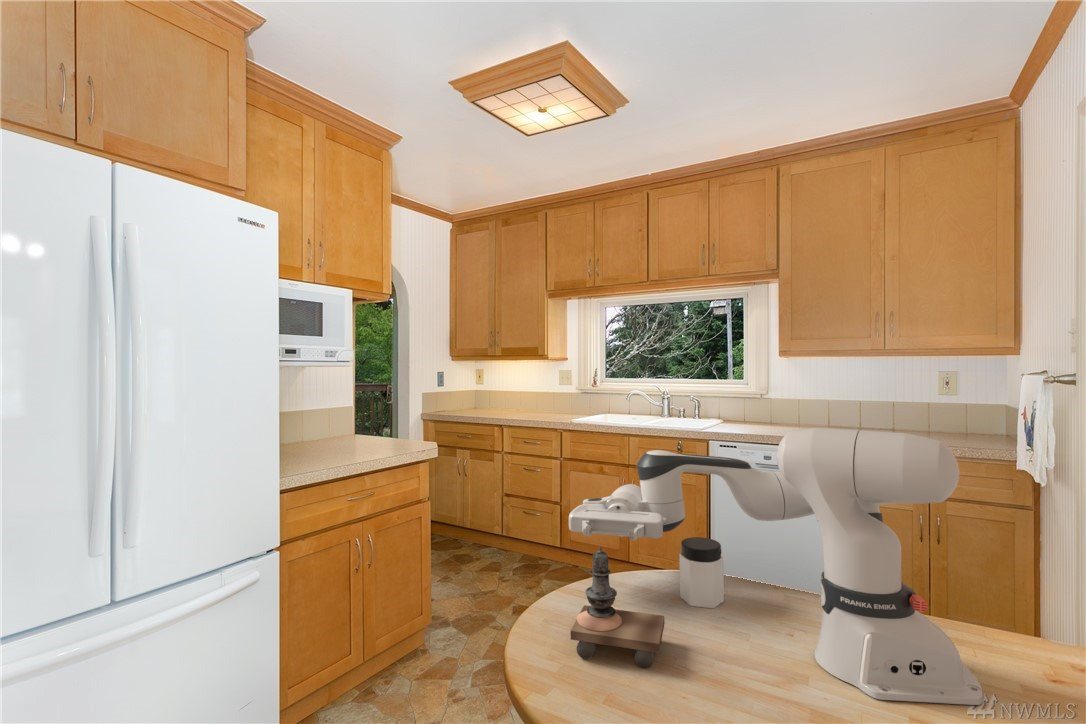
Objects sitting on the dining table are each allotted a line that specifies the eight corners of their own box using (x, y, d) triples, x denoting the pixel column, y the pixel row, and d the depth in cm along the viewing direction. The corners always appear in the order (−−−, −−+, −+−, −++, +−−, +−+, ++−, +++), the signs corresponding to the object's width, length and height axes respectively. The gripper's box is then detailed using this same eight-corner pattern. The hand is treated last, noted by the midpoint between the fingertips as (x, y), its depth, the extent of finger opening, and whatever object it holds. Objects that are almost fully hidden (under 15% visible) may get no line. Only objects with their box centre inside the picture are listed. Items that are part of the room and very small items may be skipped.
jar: (731, 606, 110) (730, 548, 110) (695, 611, 108) (694, 552, 108) (708, 588, 119) (707, 534, 119) (674, 592, 117) (673, 538, 117)
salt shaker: (619, 618, 96) (618, 552, 96) (586, 619, 96) (585, 552, 96) (614, 603, 102) (613, 540, 102) (583, 604, 102) (582, 541, 102)
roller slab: (664, 640, 97) (664, 614, 97) (659, 671, 88) (658, 642, 88) (584, 628, 102) (584, 604, 102) (570, 656, 92) (570, 629, 92)
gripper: (667, 532, 118) (661, 554, 105) (578, 525, 125) (562, 545, 112) (667, 504, 118) (661, 522, 105) (577, 498, 125) (561, 515, 112)
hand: (609, 534), depth 108 cm, fingers open, 8 cm apart
